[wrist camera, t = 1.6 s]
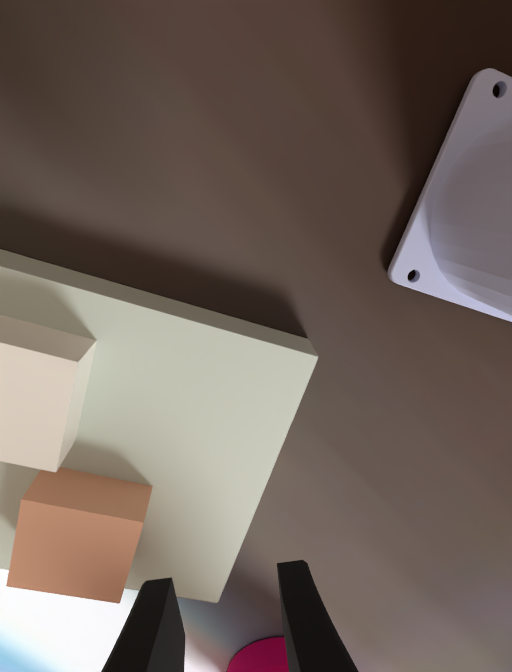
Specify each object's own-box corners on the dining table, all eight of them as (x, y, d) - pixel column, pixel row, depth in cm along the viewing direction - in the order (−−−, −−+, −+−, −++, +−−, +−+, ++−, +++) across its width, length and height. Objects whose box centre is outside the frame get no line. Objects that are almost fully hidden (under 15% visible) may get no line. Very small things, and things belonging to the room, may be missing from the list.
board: (308, 339, 17) (318, 356, 16) (218, 567, 22) (217, 603, 20) (-33, 239, 15) (-70, 246, 13) (-58, 518, 19) (-89, 554, 17)
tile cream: (96, 340, 15) (77, 362, 13) (75, 439, 16) (56, 472, 14) (-34, 305, 14) (-75, 323, 12) (-44, 413, 15) (-82, 444, 13)
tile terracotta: (152, 486, 17) (143, 522, 15) (130, 561, 18) (119, 603, 17) (44, 463, 16) (21, 499, 14) (29, 544, 18) (6, 586, 16)
